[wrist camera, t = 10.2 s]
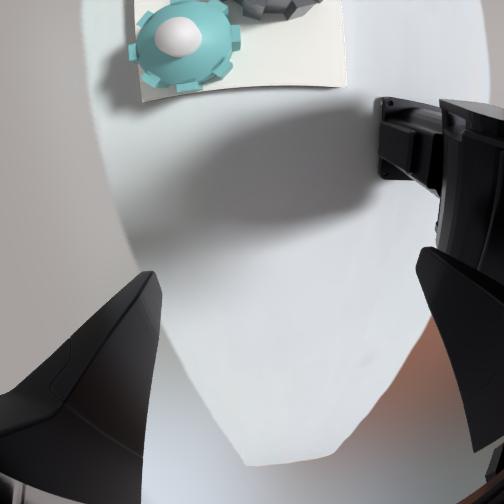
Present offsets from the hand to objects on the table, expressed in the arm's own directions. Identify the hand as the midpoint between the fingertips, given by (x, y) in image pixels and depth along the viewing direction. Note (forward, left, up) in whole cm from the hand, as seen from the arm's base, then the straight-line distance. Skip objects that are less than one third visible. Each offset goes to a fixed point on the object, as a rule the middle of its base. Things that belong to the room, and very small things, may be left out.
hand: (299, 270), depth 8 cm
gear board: (+1, -16, -12) cm, 20 cm away
